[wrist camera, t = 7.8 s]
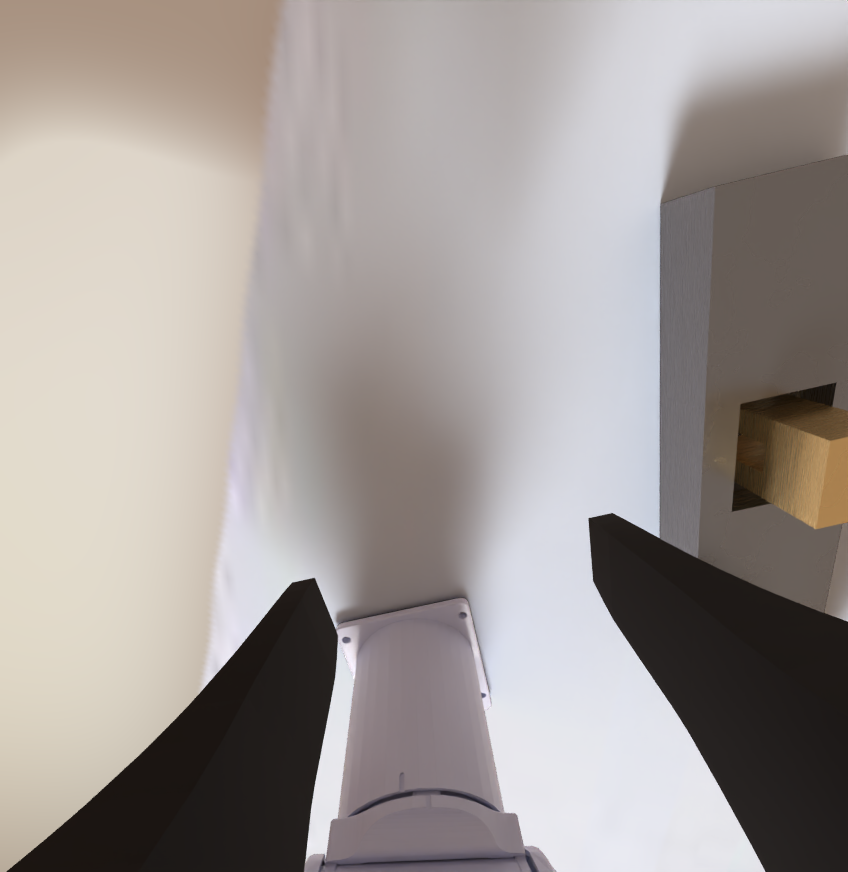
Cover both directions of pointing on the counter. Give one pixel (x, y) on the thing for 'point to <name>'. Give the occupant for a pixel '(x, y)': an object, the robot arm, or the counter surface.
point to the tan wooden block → (795, 457)
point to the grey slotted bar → (750, 361)
